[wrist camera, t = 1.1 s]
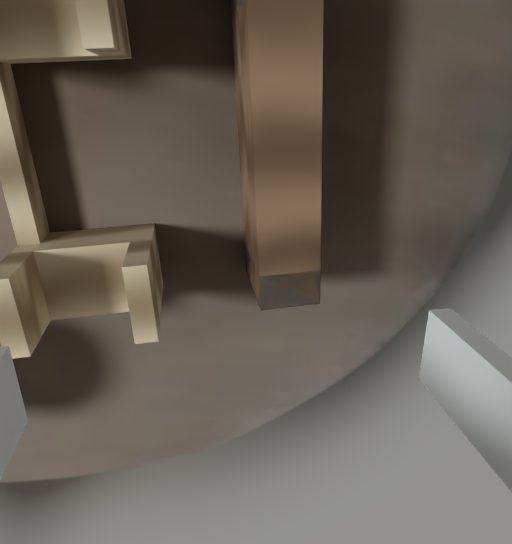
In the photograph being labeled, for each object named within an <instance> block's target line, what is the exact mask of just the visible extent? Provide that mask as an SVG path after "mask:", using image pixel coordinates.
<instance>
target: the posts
mask: <svg viewBox="0 0 512 544" xmlns="http://www.w3.org/2000/svg"><path fill="white" fill-rule="evenodd" d="M116 59H132V56H131V48H130V41H129V34H128V27H127V20H126V12H125V5H124V0H0V180H1V184H2V188H3V191H4V195H5V199H6V203H7V206H8V210H9V214H10V218H11V221H12V225H13V229H14V233H15V236H16V240H17V244H18V246H17V247H16V248H15V249H14V250H13V251H12V252H11V253H10V254H9V255H8V256H7V257H6V258H5V259H4V260H3V261H1V262H0V344H1V347H3V346H9V348H10V352H11V356H12V359H15V358H23V357H31V355H32V353H33V351H34V350H35V348H36V346H37V344H38V342H39V341H40V339H41V337H42V335H43V333H44V332H45V330H46V328H47V326H48V325H49V323H50V321H51V320H58V319H67V318H76V317H85V316H94V315H103V314H112V313H121V312H129V313H130V318H131V324H132V330H133V336H134V341H135V344H140V343H148V342H156V341H159V330H160V318H161V306H162V294H163V280H162V272H161V265H160V258H159V251H158V244H157V236H156V229H155V224H143V225H132V226H120V227H109V228H97V229H86V230H74V231H63V232H51V233H50V230H49V226H48V222H47V217H46V213H45V209H44V205H43V200H42V196H41V192H40V188H39V183H38V179H37V175H36V171H35V166H34V162H33V158H32V153H31V149H30V145H29V141H28V136H27V132H26V128H25V124H24V119H23V115H22V111H21V106H20V102H19V98H18V94H17V89H16V85H15V81H14V77H13V72H12V68H11V64H18V63H43V62H67V61H92V60H116Z"/></svg>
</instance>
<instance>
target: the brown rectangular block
mask: <svg viewBox="0 0 512 544" xmlns="http://www.w3.org/2000/svg"><path fill="white" fill-rule="evenodd" d="M231 17H232V34H233V51H234V68H235V85H236V102H237V119H238V136H239V153H240V170H241V188H242V205H243V222H244V239H245V256H246V271H247V274H248V276H249V279H250V282H251V284H252V287H253V290H254V293H255V295H256V298H257V301H258V304H259V306H260V309H261V310H268V309H276V308H285V307H294V306H303V305H311V304H320V281H321V187H322V93H323V0H231Z"/></svg>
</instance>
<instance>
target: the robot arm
mask: <svg viewBox="0 0 512 544" xmlns="http://www.w3.org/2000/svg"><path fill="white" fill-rule="evenodd" d="M419 380H420V382H421V383H422V384H423V385H424V386H425V387H426V389H427V390H428V391H429V392H430V394H431V395H432V396H433V397H434V399H435V400H436V401H437V402H438V403H439V404H440V406H441V407H442V408H443V409H444V411H445V412H446V413H447V414H448V415H449V417H450V418H451V419H452V420H453V422H454V423H455V424H456V425H457V426H458V427H459V429H460V430H461V431H462V432H463V434H464V435H465V436H466V437H467V439H468V440H469V441H470V442H471V443H472V445H473V446H474V447H475V448H476V449H477V451H478V452H479V453H480V454H481V455H482V457H483V458H484V459H485V460H486V462H487V463H488V464H489V465H490V466H491V468H492V469H493V470H494V471H495V472H496V474H497V475H498V476H499V477H500V479H501V480H502V481H503V482H504V483H505V485H506V486H507V487H508V488H509V489H510V490H511V492H512V357H510V356H509V355H508V354H507V353H505V352H504V351H503V350H502V349H500V348H499V347H498V346H496V345H495V344H494V343H493V342H492V341H491V340H489V339H488V338H487V337H486V336H484V335H483V334H482V333H480V332H479V331H478V330H477V329H476V328H474V327H473V326H472V325H470V324H469V323H468V322H467V321H466V320H464V319H463V318H462V317H461V316H459V315H458V314H457V313H456V312H454V311H453V310H452V309H449V308H448V309H437V310H430V311H429V315H428V321H427V328H426V334H425V341H424V348H423V354H422V361H421V368H420V374H419ZM27 423H28V419H27V415H26V411H25V407H24V403H23V399H22V395H21V391H20V387H19V383H18V379H17V375H16V371H15V367H14V364H13V360H12V356H11V352H10V348H9V346H3V347H0V482H1V479H2V477H3V475H4V473H5V471H6V469H7V466H8V464H9V462H10V460H11V458H12V456H13V453H14V451H15V449H16V447H17V445H18V443H19V440H20V438H21V436H22V434H23V432H24V430H25V427H26V425H27Z"/></svg>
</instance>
